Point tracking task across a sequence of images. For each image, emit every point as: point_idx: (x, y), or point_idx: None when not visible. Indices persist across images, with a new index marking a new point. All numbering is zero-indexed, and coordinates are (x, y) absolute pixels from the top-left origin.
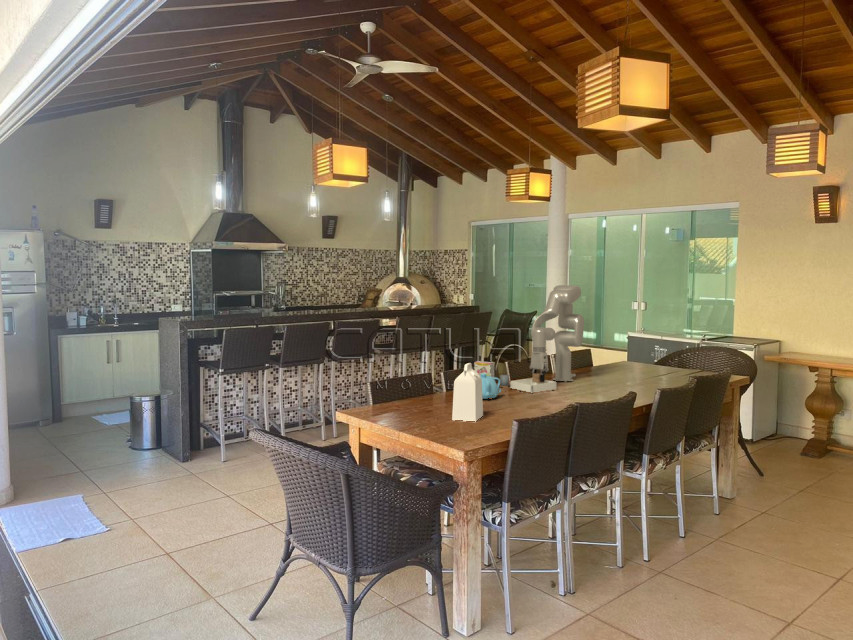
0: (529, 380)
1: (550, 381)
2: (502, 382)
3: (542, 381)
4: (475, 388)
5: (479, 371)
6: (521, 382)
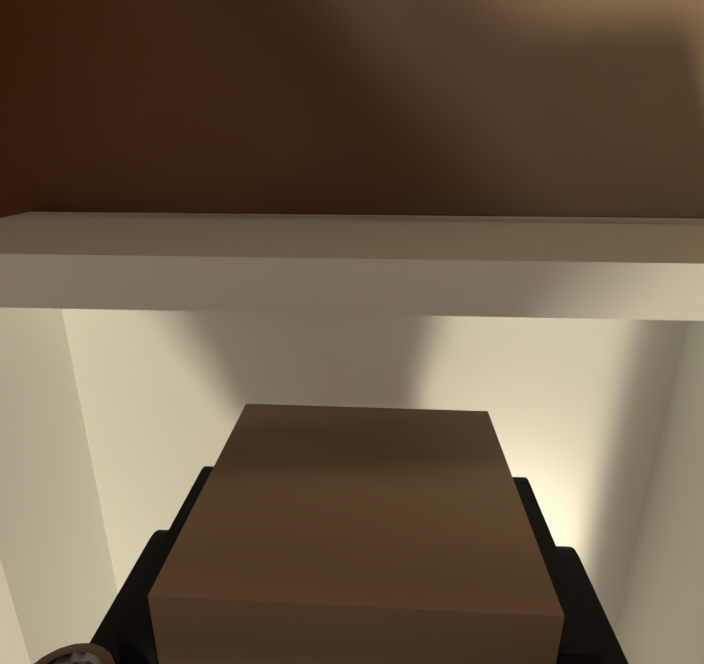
0: (12, 467)
1: (640, 314)
2: None
3: None
4: None
5: None
6: None
